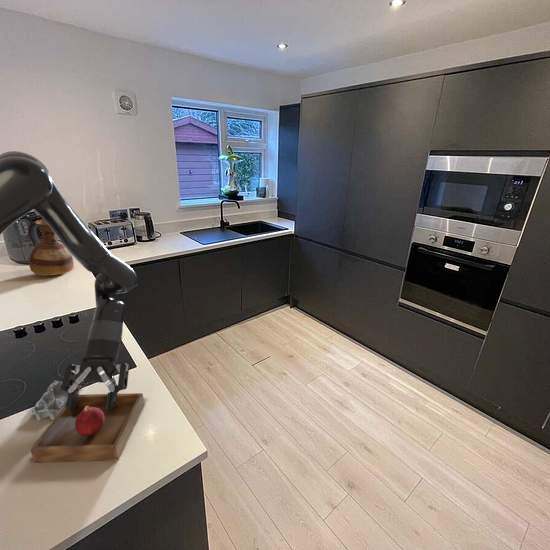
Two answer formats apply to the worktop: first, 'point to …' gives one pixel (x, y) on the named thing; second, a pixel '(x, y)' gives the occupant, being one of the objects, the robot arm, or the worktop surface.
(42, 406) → the egg carton
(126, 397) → the wooden tray
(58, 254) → the ceramic pitcher
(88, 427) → the onion
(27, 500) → the worktop surface
